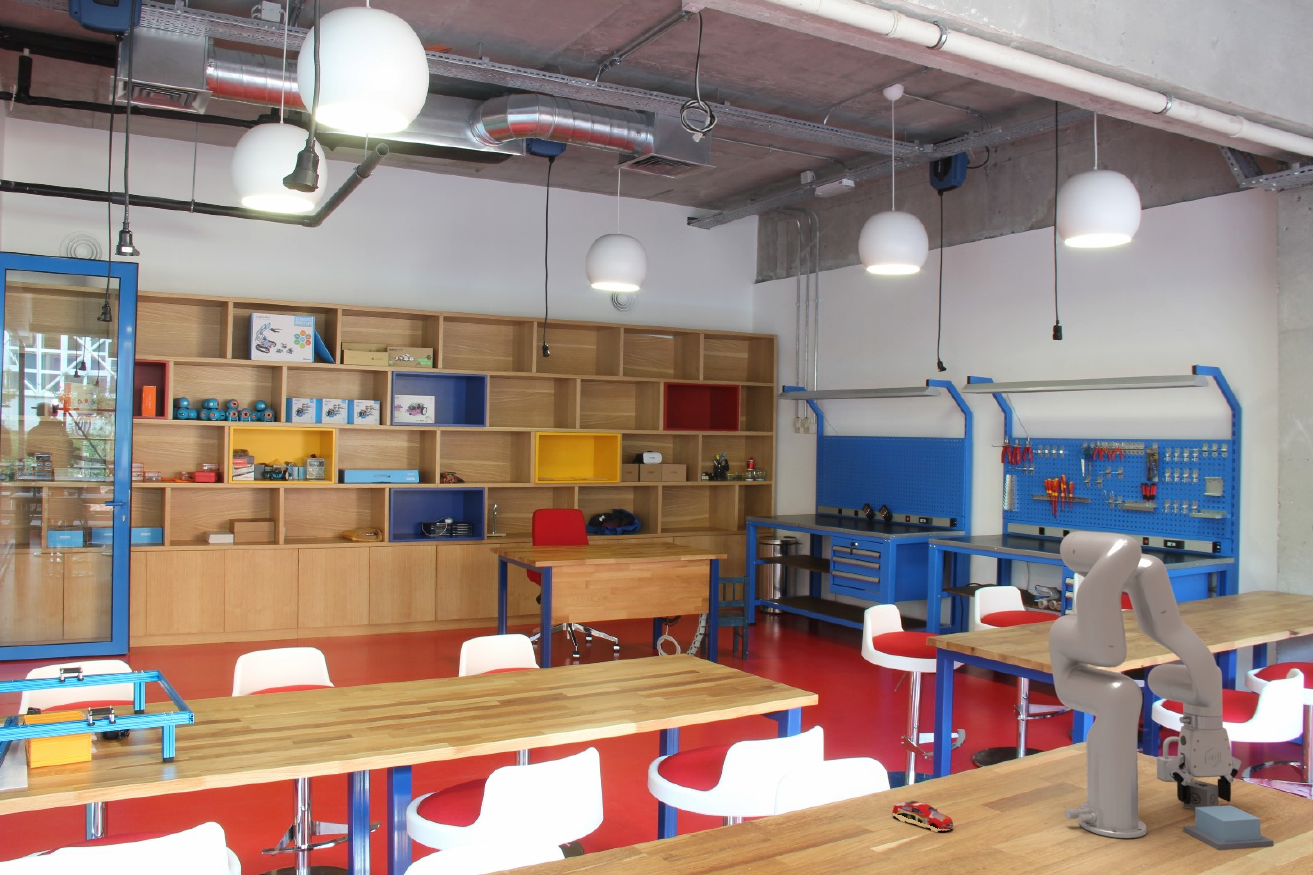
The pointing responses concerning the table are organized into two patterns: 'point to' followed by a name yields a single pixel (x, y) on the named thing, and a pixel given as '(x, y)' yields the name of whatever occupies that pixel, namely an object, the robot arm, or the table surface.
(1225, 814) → the base
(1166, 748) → the padlock
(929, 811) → the race car
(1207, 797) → the dice cube
